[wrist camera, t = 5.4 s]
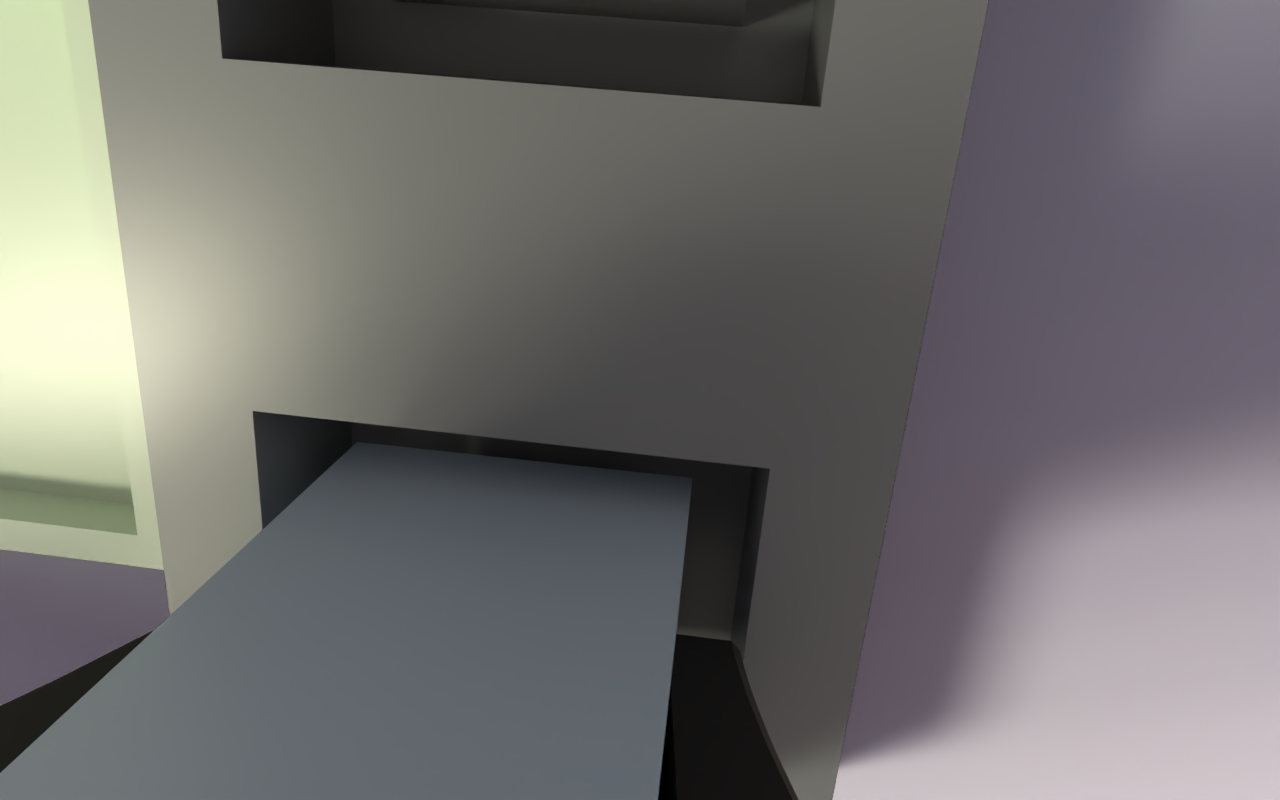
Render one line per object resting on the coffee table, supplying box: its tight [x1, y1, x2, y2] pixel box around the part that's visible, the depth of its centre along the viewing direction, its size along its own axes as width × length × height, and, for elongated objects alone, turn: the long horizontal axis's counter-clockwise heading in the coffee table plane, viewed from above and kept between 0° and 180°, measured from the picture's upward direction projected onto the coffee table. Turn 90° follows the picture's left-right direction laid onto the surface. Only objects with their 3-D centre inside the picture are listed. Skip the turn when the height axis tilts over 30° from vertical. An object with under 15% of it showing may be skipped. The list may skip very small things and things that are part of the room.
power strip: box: [88, 0, 989, 800], centre depth 10 cm, size 8×17×3 cm, turn 176°
